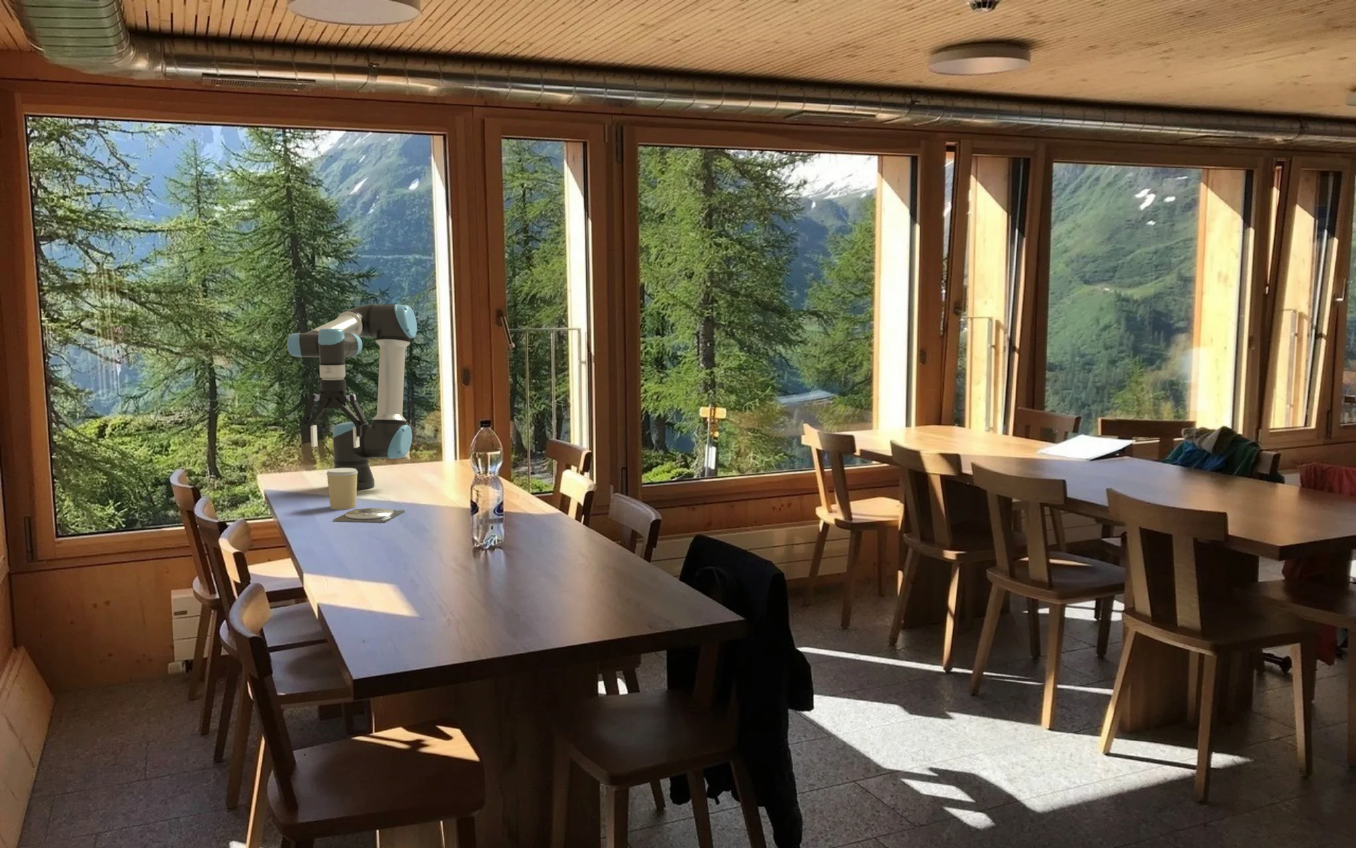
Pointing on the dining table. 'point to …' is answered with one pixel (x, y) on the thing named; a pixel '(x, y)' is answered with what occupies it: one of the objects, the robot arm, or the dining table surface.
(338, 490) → the coffee cup
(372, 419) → the robot arm
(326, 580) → the dining table surface
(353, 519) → the flange plate
